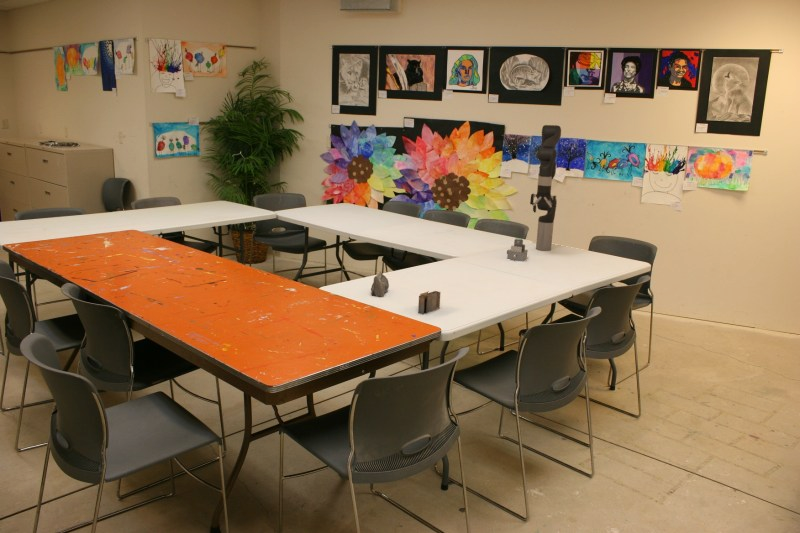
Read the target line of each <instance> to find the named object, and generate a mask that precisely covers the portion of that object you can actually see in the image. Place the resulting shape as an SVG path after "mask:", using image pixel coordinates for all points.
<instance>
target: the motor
mask: <svg viewBox="0 0 800 533" xmlns="http://www.w3.org/2000/svg"><path fill="white" fill-rule="evenodd" d="M506 255H507V258H506V259H510V260H509V261H515V260H516V262H524V261H525V260H526V259H528V249H526V244H524V243H523V247H519V246H514V245H511V246H510V249H507V250H506Z"/></svg>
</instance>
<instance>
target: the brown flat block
mask: <svg viewBox="0 0 800 533" xmlns="http://www.w3.org/2000/svg"><path fill="white" fill-rule="evenodd" d="M440 306H441V291H438V290H433V291H430V292H429V291H426V292H423V293H420V294H419V295H418V308H417V310H418V311H417V312H418V314H421V315H424V314H428V313H431V312H434V311H437V310H440V308H441V307H440ZM424 312H425V313H424Z"/></svg>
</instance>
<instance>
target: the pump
mask: <svg viewBox="0 0 800 533" xmlns="http://www.w3.org/2000/svg"><path fill="white" fill-rule="evenodd" d="M523 244H524V240H523V238H520V237H516V238H514V241H513V246H519V247H523Z"/></svg>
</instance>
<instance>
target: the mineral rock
mask: <svg viewBox="0 0 800 533" xmlns="http://www.w3.org/2000/svg"><path fill="white" fill-rule="evenodd" d="M389 287H390V283H389V279H388V278H387V277H386V275H384V274H383V272H382V271H380V272H379V273H378V274H376V275H375V276H374V277H373V283H372V284H371V288H370V292H371V296H373V297H384V296H385V293H386V292H387V291H388V289H389Z"/></svg>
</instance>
